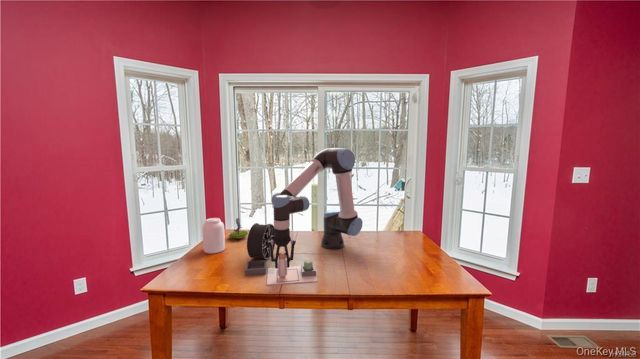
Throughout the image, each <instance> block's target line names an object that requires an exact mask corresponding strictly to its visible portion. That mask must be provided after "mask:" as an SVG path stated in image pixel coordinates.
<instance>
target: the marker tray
mask: <svg viewBox="0 0 640 359" xmlns="http://www.w3.org/2000/svg"><path fill="white" fill-rule="evenodd" d="M244 271H245V274H244V276H256V275H266V273H267V259H264V260H253V261H251V260H250V261H247V262H246V266H245V270H244Z"/></svg>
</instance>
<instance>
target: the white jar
mask: <svg viewBox="0 0 640 359" xmlns="http://www.w3.org/2000/svg"><path fill="white" fill-rule="evenodd" d="M202 244H203V246H202V248H203V252H204V253H205V254H211V255H213V254H218V253H221V252H223V251H225V249H226V240H225V224H224V222H223V221H221V218H219V217H210V218H207V219H205V223H203V225H202Z"/></svg>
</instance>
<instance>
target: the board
mask: <svg viewBox="0 0 640 359" xmlns="http://www.w3.org/2000/svg"><path fill="white" fill-rule="evenodd" d="M301 266H302V265H296V266H294V265H293V266H290V267H289V268H287V275H286V277H285V278H283V279H281V278H279V276H278V268H277V269H276V268H275V267H267V275H266V276H267V277H266V278H267V280H266V286H276V285H290V284H291V285H292V284H304V283H316V282H318V278H317V275H316V276H305V277H302V274H301Z"/></svg>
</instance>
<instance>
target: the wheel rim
mask: <svg viewBox="0 0 640 359" xmlns="http://www.w3.org/2000/svg"><path fill="white" fill-rule="evenodd" d="M273 238H274V224H272V223H267V224H260V223H257V222H256V223H253V225H252V226H251V227H250V229H249V231H248V234H247V241H246V250H247V255H248V256H249V257H250V258H252V259H254V258H262V259H263V260H269V259H271V253H270V246H269V244H268V241H269V240H270V241H271V240H273ZM275 246H276V244H275V243H274V242H273V252H274V251H275Z"/></svg>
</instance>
